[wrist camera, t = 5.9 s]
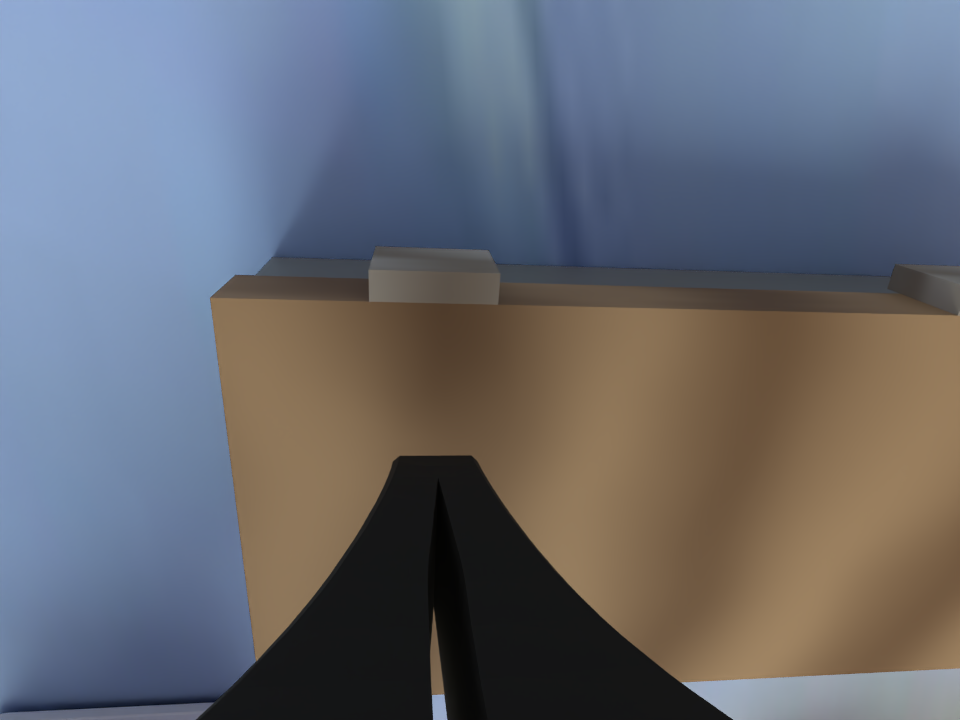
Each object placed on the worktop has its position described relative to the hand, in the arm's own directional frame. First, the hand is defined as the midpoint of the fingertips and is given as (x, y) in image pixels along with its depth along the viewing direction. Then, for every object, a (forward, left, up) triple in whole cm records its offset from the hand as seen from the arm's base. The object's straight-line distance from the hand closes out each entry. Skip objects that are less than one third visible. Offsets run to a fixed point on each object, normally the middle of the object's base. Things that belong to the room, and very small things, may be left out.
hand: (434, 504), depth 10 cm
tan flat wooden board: (+6, -2, -4) cm, 8 cm away
